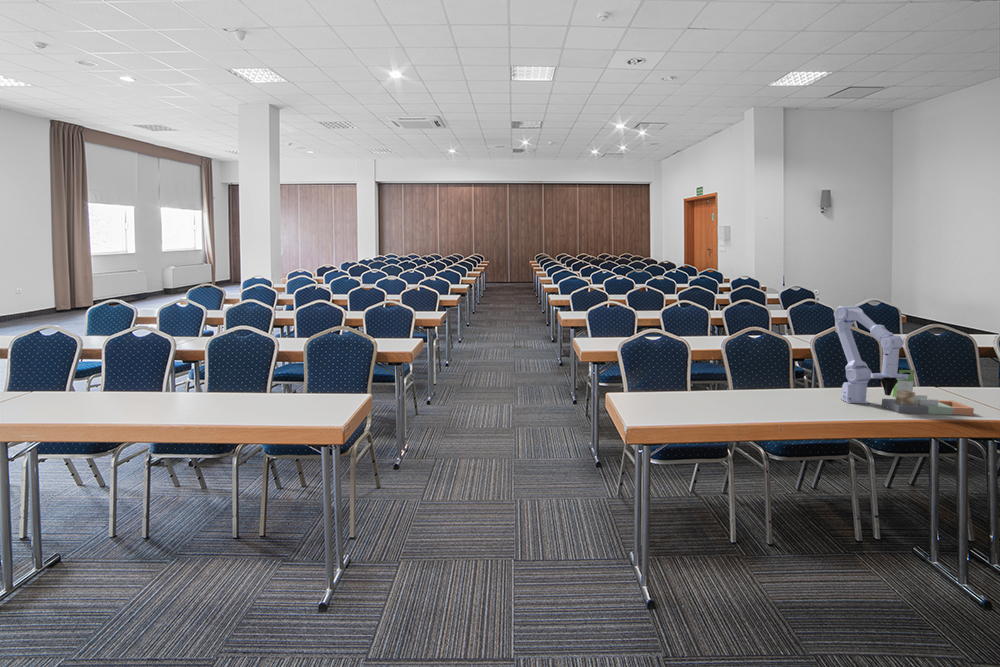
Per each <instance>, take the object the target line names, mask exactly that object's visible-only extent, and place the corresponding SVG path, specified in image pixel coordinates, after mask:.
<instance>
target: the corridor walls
mask: <svg viewBox="0 0 1000 667" xmlns="http://www.w3.org/2000/svg"><path fill="white" fill-rule="evenodd" d="M939 400H940V399H933V398H932V399H928V395H922V394H921V395H920V394H919V395H918V394H915V400H914V401H918V405H919V406H938V401H939Z"/></svg>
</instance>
